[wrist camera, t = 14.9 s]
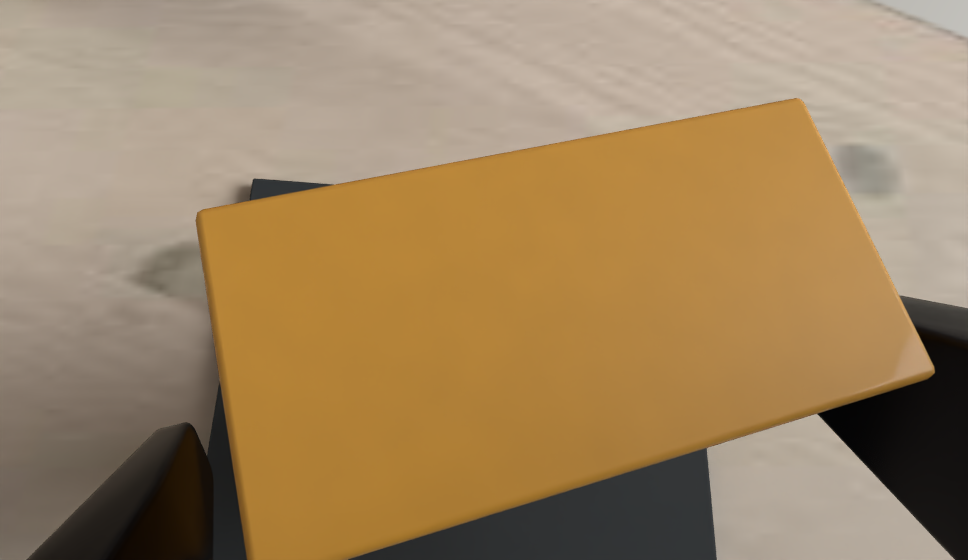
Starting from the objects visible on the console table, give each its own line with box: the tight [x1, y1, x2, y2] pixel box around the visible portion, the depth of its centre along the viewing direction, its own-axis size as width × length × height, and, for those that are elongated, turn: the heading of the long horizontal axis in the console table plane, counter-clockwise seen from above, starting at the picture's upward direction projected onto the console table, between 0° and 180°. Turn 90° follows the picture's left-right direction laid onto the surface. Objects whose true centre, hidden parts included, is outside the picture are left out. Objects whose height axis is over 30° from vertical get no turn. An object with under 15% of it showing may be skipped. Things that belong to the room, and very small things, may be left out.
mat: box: [207, 179, 717, 560], centre depth 15 cm, size 12×12×1 cm
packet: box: [196, 98, 935, 560], centre depth 10 cm, size 3×6×10 cm, turn 106°
